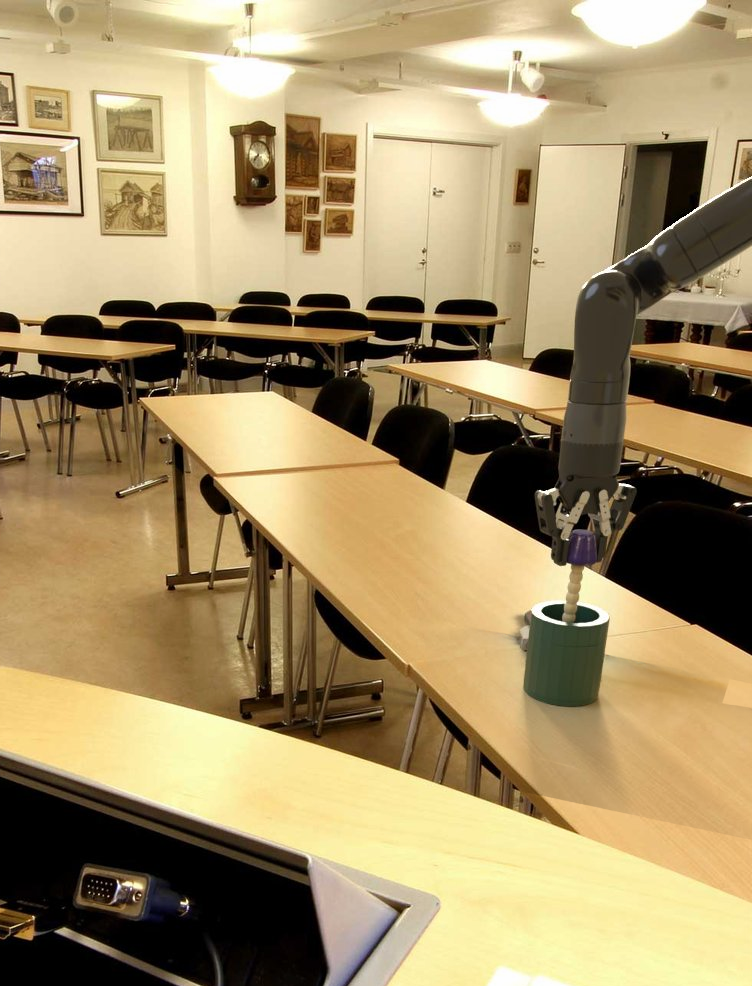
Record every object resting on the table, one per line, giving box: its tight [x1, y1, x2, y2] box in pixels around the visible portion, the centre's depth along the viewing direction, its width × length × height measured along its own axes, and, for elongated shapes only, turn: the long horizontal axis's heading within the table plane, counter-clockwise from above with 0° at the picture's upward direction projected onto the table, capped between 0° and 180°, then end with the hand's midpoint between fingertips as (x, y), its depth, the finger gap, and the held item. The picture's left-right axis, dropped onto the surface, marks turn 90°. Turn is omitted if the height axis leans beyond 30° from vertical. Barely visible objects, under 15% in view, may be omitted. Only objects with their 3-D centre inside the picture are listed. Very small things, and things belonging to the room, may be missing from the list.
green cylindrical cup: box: [522, 600, 611, 707], centre depth 129 cm, size 10×10×12 cm
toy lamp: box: [562, 529, 597, 623], centre depth 125 cm, size 5×5×17 cm
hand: (577, 562), depth 124 cm, fingers closed on toy lamp, 4 cm apart
